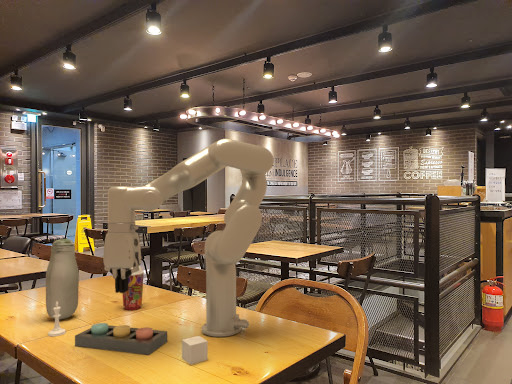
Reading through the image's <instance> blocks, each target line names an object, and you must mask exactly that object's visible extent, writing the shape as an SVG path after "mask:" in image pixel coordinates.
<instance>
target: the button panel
mask: <svg viewBox="0 0 512 384" xmlns="http://www.w3.org/2000/svg"><path fill="white" fill-rule="evenodd" d="M117 326H118V325H109V324H108V333H106V334H104V335H102V336H101V335H92V334H91V327H90V328H87V329H85V330H83V331H81V332H79V333H77V334H75V335H74V346H75V347H78V348H86V349H95V350H102V351H104V350H105V351H112V352H113V351H114V352H121V353H128V354H138V355H146V356H150V355H151V354H153V352H155V351H157V350H158V349H159V348H160V347H162V346H164V345H165V344H167V342H168V331H167V330H159V329H158V330H157V329H153V338H151V339H150V340H148V341H146V340H137V339H136V330H137V329H140V328H141V327H140V328H138V327H130V335H129V336H127V337H125V338H119V337H113V328H114V327H117Z"/></svg>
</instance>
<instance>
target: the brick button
mask: <svg viewBox="0 0 512 384" xmlns="http://www.w3.org/2000/svg"><path fill="white" fill-rule="evenodd" d="M153 330H154V329H153V328H152V327H149V326H148V327H147V326H146V327H140V329H137V330H136V339H137V340H146V341H148V340H150V339H151V338H153Z"/></svg>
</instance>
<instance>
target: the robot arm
mask: <svg viewBox="0 0 512 384" xmlns="http://www.w3.org/2000/svg"><path fill="white" fill-rule="evenodd" d="M274 159H275V158H274V156H273V153H272V152H271V151H270V150H269V149H268V148H266V147H264V146H261V145H258V144H257V145H256V144H253V143H248V142H244V141H240V140H236V139H232V138H222V139H218V140H216V141H214V142H213V143H211V144H209V145H208V146H206V147H205V148H203V149H201V150H199V151H198V152H196V153H195V154H193V155H191V156H190V157H188V158H186V159H184V160H182V161H181V162H179V163H178V164H176V165H175V166H174V167H173V168H171V169H169V170H168V171H167V172H165V173H163V174H162V175H161V176H158V177H157V178H155V179H154V180H152V181H150V182H149V183H147V184H146V185H144V186H135V187H134V186H133V187H132V186H121V185H120V186H112V187H110V188H108V190H107V233H106V234H105V238H104V246H103V260H102V261H103V265H104V266H103V267H104V271H106V272H109V273H110V274H111V275H112V278H113V279H114V291H115V294H116V293H117V294H118V293H119V294H123V293H124V292H126V291H128V278H129V277H130V275H131V274H132V273H134V272H138V271H139V265H140V266H141V264H142V252H141V249H142V248H141V242H140V238H139V233H138V232H136V230H138V229H139V225H138V224H136V211H143V212H144V211H145V212H153V211H156V210H158V209H159V208H160V207H161V206H162V204H163V203H164V202H165V201H167V200H168V199H170V198H172V197H174V196H176V195H177V194H179V193H181V192H184V191H186V190H189V189H192V188H193V187H196V186H197V185H199V184H200V183H202V182H204V181H205V180H207V179H208V178H210V177H211V176H213V175H215V174H216V173H218V172H219V171H221V170H223V169H224V168H226V167H229V168H234V169H237V170H239V171H240V173H241V176H242V177H241V179H242V180H241V184H240V187H239V189H238V191H237V193H236V194H235V196H234V197H233V199H232V201H231V202H230V204H229V206H228V207H227V208H226V211H225V212H224V215H223V220H224V224H225V227H224V229H223V230H215V231H213V232H211V233H210V234H209V235H208V236H207V238H206V239H205V242H204V258H205V274H206V275H205V276H206V277H205V280H206V282H205V283H206V284H205V285H206V286H205V287H206V288H205V289H206V291H205V293H206V294H205V295H206V296H205V297H206V298H205V300H206V303H205V304H206V307H205V308H206V310H205V311H206V320H205V321H206V322H205V323H204V324H203V325H202V326H201V333H203V334H204V335H206V336H210V337H217V338H219V337H220V338H221V337H229V336H234V335H236V334H238V333H240V332H241V331H242V328H243V329H249V325H250V323H249V321H248V319H245V318H244V319H241V318H240V314H238V313H237V268H236V264H237V263H239V262H240V261H241V260H242V259H243V257H244V256H245V254H246V253H247V252H248V249H249V248H250V246H251V244H252V242H253V241H254V239H255V237H256V235H257V234H258V231H259V230H260V228H261V225H262V221H263V218H262V217H263V216H262V215H263V214H262V212H261V209H260V208H259V207H260V205H261V203H262V201H264V200H263V199H264V198H265V195H266V192H267V189H268V188H267V185H268V182H267V176H266V174H267V173H268V172H269V171H271V170H272V168H273V166H274V164H275V163H274V161H275V160H274ZM132 267H133V268H132ZM131 268H132V269H131Z"/></svg>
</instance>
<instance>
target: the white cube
mask: <svg viewBox="0 0 512 384" xmlns="http://www.w3.org/2000/svg"><path fill="white" fill-rule="evenodd" d="M208 344H209V343H208V340H206V339H205V338H203V337H202V336H200V335H197V336H192V337H188V338H184V339H183V338H182V339H181V359H182V360H183V361H184V362H186V364H188V363H189V364H188V365H190V366H192V365H194V364H198V363H202V362H205V361H208V359H209V357H208V349H209V348H208V346H209V345H208Z"/></svg>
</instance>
